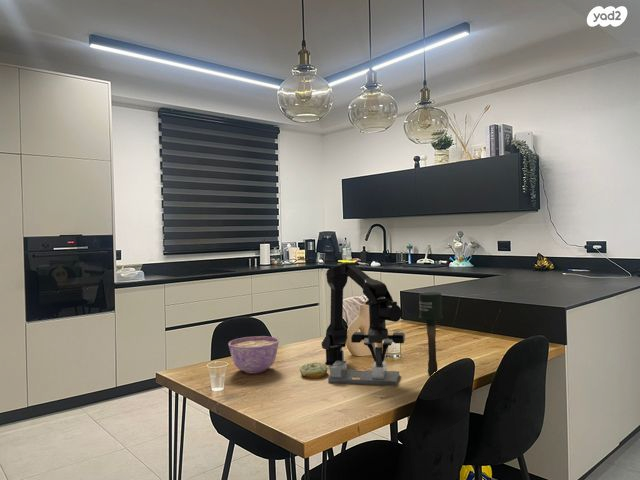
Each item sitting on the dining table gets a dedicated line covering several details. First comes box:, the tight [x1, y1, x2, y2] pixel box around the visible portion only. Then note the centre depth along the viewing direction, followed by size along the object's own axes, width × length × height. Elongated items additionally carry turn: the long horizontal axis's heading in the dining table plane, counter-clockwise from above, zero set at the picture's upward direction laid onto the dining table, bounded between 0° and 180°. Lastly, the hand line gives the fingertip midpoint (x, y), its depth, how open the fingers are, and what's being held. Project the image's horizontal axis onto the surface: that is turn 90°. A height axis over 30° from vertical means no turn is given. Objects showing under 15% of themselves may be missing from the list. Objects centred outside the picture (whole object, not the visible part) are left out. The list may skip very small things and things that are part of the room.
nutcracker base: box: [327, 360, 400, 387], centre depth 172 cm, size 24×12×5 cm, turn 75°
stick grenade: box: [418, 291, 444, 377], centre depth 173 cm, size 8×9×30 cm
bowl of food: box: [228, 335, 280, 374], centre depth 189 cm, size 20×20×12 cm
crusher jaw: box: [371, 346, 388, 379], centre depth 170 cm, size 4×8×10 cm, turn 165°
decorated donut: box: [299, 362, 328, 379], centre depth 180 cm, size 10×11×4 cm
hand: (379, 361), depth 170 cm, fingers closed on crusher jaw, 2 cm apart
